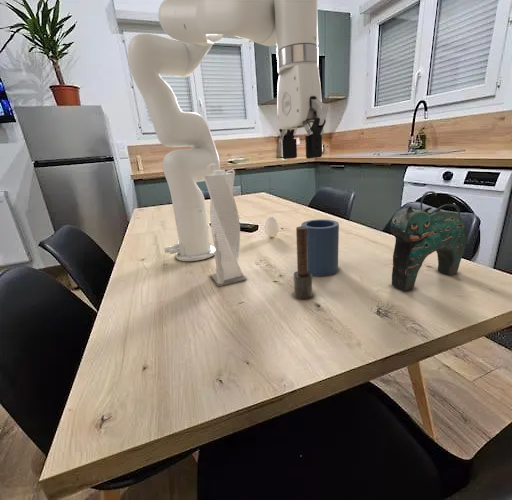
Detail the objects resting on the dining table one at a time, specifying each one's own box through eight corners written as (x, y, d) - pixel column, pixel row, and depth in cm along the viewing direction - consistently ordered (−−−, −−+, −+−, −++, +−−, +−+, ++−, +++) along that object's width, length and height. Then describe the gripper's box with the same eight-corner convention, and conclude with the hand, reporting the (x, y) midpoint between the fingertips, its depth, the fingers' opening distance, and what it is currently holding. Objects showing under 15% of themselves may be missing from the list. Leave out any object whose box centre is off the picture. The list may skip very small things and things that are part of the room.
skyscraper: (209, 274, 78) (195, 164, 69) (238, 267, 81) (228, 161, 72) (218, 286, 71) (203, 165, 62) (250, 278, 74) (240, 161, 65)
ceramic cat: (402, 295, 60) (412, 197, 54) (378, 284, 66) (384, 194, 60) (467, 274, 67) (482, 185, 61) (440, 265, 73) (451, 183, 67)
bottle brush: (300, 301, 61) (298, 231, 57) (291, 293, 65) (288, 227, 60) (315, 296, 63) (315, 228, 58) (306, 289, 66) (305, 224, 61)
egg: (277, 239, 103) (276, 218, 100) (262, 239, 105) (261, 218, 102) (281, 235, 108) (280, 214, 105) (267, 234, 109) (265, 214, 107)
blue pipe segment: (314, 279, 71) (314, 230, 67) (296, 266, 79) (294, 223, 75) (345, 271, 74) (346, 224, 70) (324, 260, 82) (324, 217, 78)
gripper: (261, 74, 62) (267, 160, 67) (303, 45, 46) (307, 159, 52) (293, 74, 64) (296, 157, 69) (343, 46, 49) (342, 155, 54)
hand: (301, 158), depth 60 cm, fingers open, 9 cm apart
